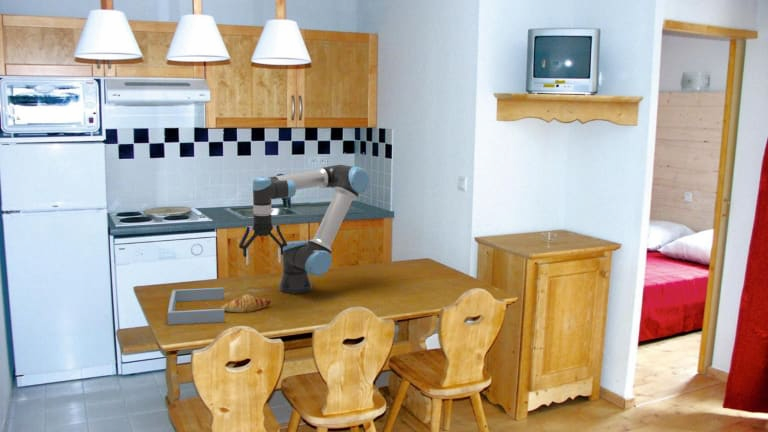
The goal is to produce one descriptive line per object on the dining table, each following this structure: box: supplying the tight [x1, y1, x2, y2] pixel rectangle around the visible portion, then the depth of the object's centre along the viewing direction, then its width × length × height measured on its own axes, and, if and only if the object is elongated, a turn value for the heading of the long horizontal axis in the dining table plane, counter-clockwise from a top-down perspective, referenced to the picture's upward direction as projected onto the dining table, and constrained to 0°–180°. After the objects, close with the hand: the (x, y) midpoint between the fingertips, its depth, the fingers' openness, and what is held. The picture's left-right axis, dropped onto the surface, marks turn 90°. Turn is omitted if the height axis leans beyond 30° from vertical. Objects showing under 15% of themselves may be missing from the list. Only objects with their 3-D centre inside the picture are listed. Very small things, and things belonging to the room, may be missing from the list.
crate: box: [167, 287, 226, 326], centre depth 296 cm, size 22×33×5 cm, turn 13°
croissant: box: [220, 293, 271, 313], centre depth 299 cm, size 21×10×8 cm, turn 114°
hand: (263, 263), depth 300 cm, fingers open, 13 cm apart
